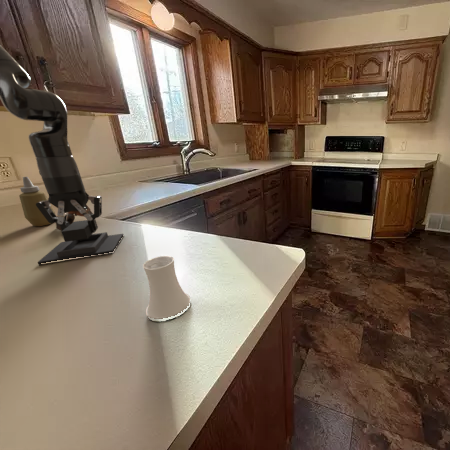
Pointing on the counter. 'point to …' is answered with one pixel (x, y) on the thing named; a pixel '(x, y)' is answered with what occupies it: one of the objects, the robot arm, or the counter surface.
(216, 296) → the counter surface
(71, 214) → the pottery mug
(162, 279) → the vase
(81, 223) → the dark grey block
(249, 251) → the counter surface
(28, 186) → the squeeze bottle
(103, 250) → the base pad
